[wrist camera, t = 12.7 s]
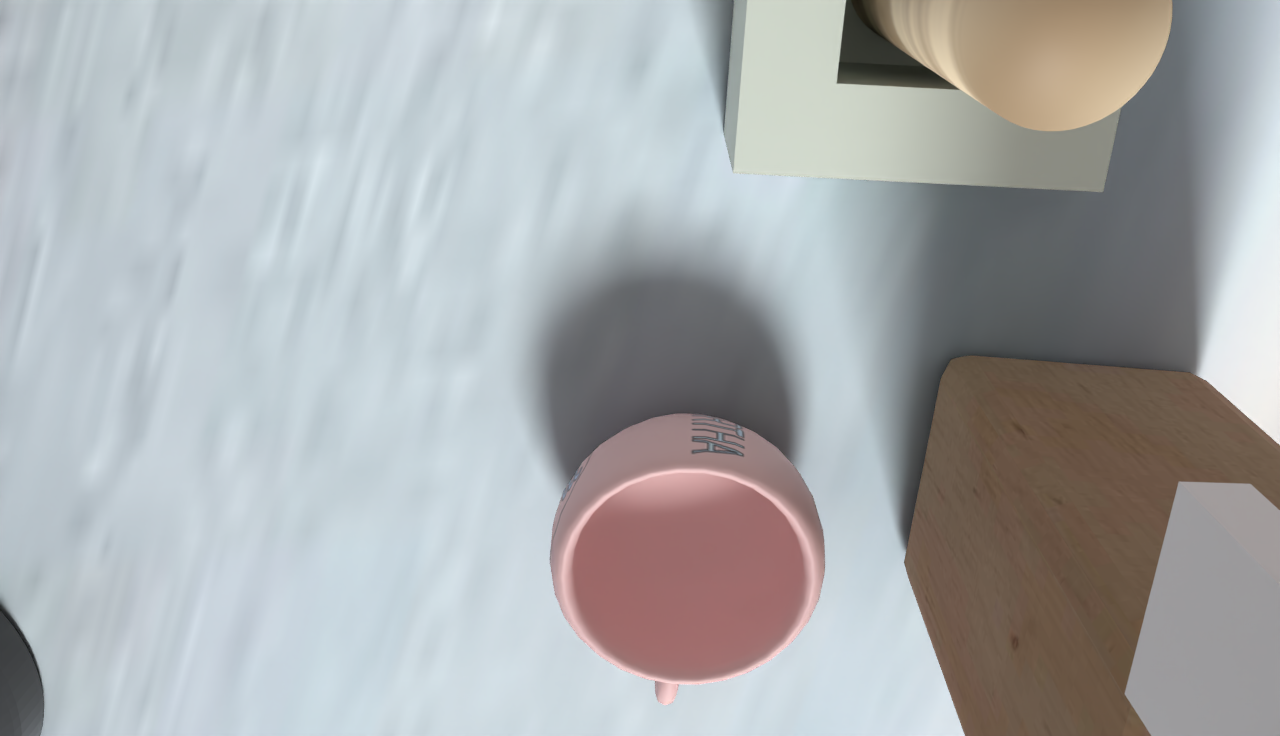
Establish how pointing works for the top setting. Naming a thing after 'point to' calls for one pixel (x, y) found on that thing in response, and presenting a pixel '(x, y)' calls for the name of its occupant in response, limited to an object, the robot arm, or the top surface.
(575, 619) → the mug
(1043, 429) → the wooden block
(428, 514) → the top surface
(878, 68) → the socket block
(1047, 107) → the birch peg
